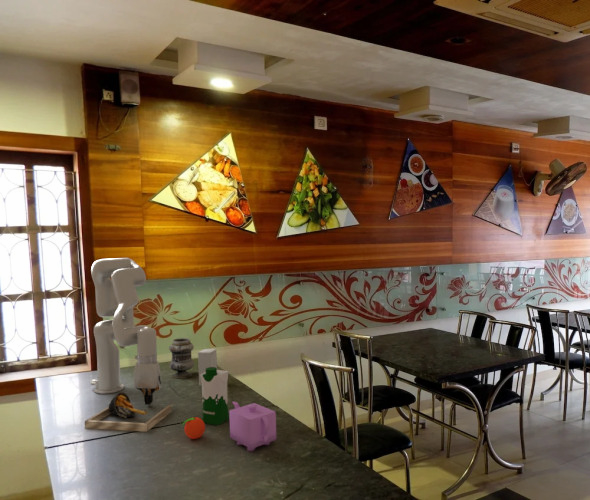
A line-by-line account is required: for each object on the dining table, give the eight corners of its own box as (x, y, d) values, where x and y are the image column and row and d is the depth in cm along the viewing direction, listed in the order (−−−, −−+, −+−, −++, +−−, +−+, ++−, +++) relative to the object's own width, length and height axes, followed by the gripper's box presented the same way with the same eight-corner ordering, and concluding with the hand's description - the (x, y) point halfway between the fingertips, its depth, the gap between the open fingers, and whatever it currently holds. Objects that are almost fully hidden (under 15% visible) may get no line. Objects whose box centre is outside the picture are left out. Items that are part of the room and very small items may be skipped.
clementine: (184, 444, 156) (183, 423, 156) (179, 437, 163) (178, 416, 162) (208, 439, 160) (207, 418, 160) (202, 432, 166) (201, 412, 166)
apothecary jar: (181, 380, 229) (180, 343, 228) (164, 377, 235) (163, 340, 235) (199, 374, 239) (198, 338, 238) (182, 371, 245) (181, 336, 245)
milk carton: (198, 423, 174) (197, 369, 174) (213, 414, 183) (211, 363, 182) (219, 426, 171) (217, 371, 170) (232, 418, 179) (231, 365, 178)
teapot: (281, 446, 153) (280, 408, 153) (255, 456, 147) (254, 416, 146) (245, 429, 168) (244, 393, 168) (221, 437, 162) (220, 400, 161)
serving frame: (84, 428, 173) (84, 421, 173) (114, 408, 192) (114, 402, 192) (146, 431, 168) (146, 424, 168) (171, 411, 187) (171, 405, 187)
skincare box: (211, 386, 218) (210, 352, 218) (197, 386, 219) (196, 352, 219) (218, 381, 226) (217, 348, 226) (204, 380, 228) (204, 348, 227)
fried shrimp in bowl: (119, 396, 192) (155, 385, 187) (119, 425, 188) (157, 414, 182) (102, 395, 185) (139, 383, 179) (102, 424, 180) (140, 413, 175)
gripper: (125, 360, 192) (126, 406, 192) (159, 362, 189) (161, 408, 189) (135, 356, 199) (136, 399, 199) (168, 357, 196) (169, 401, 196)
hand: (148, 403), depth 194 cm, fingers closed
